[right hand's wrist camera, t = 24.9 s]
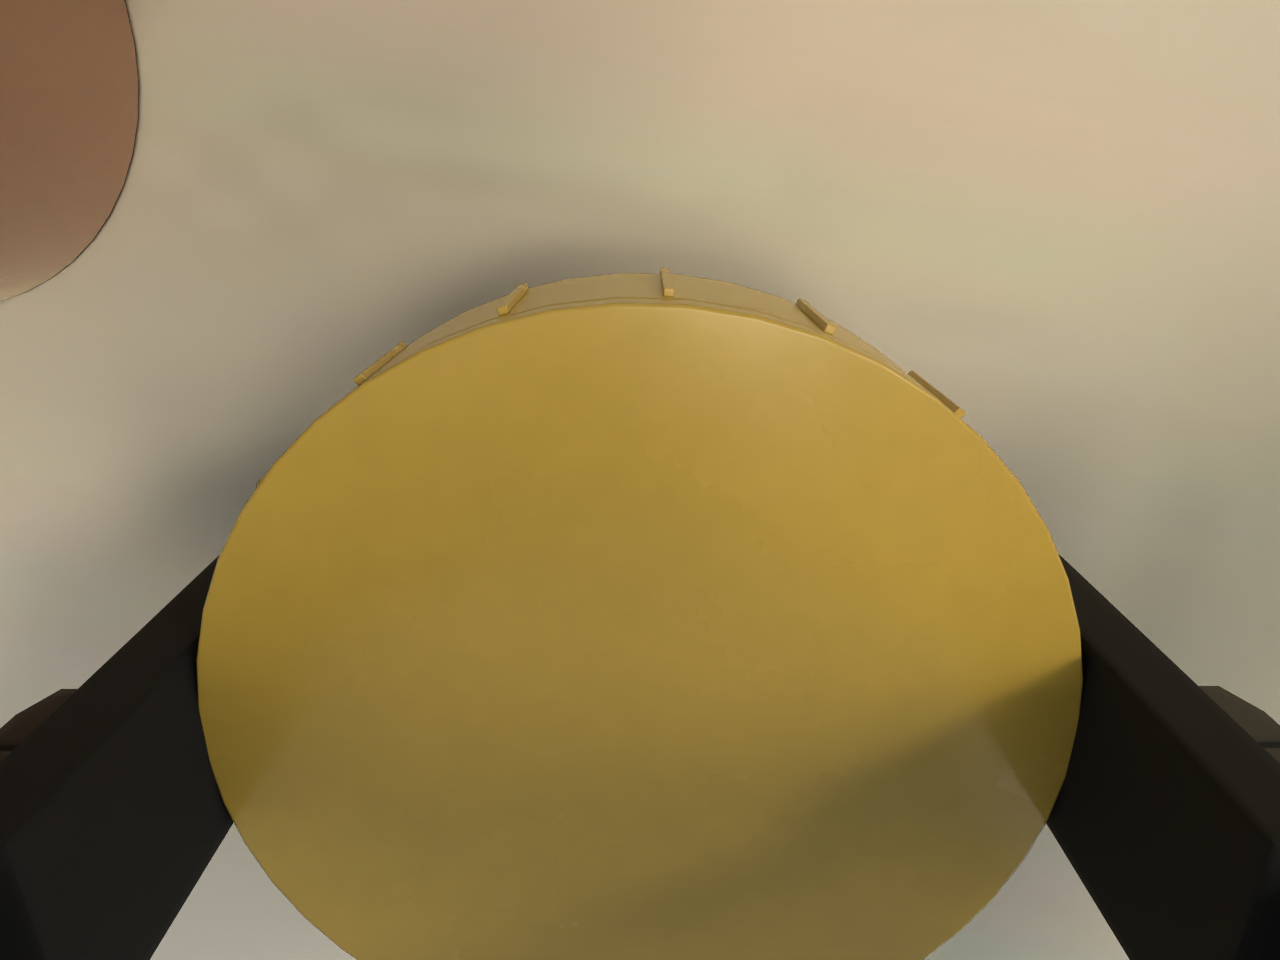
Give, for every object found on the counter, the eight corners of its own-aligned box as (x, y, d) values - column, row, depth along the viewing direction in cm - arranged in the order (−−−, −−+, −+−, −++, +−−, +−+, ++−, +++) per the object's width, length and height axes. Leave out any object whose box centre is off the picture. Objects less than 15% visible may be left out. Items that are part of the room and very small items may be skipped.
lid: (870, 956, 15) (912, 1099, 12) (250, 851, 14) (175, 985, 12) (1129, 373, 11) (1254, 428, 9) (303, 182, 10) (208, 187, 8)
